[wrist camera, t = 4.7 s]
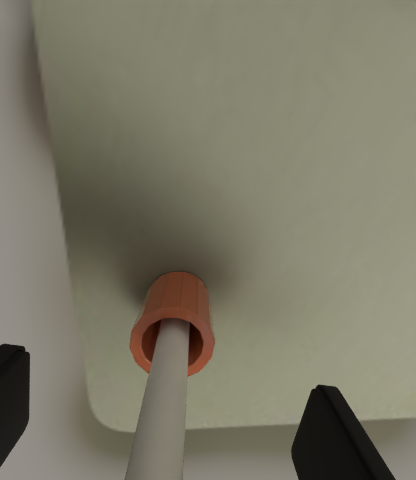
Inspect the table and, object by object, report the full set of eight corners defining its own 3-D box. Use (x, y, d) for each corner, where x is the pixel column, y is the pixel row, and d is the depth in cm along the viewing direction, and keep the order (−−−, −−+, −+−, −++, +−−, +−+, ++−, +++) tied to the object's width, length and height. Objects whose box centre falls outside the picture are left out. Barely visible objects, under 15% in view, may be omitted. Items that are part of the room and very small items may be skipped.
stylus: (163, 313, 15) (102, 585, 5) (167, 291, 14) (108, 538, 5) (188, 317, 15) (173, 589, 5) (192, 295, 15) (184, 543, 5)
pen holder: (143, 323, 16) (125, 375, 12) (151, 265, 15) (135, 301, 11) (203, 331, 16) (206, 384, 12) (215, 275, 15) (221, 313, 11)
